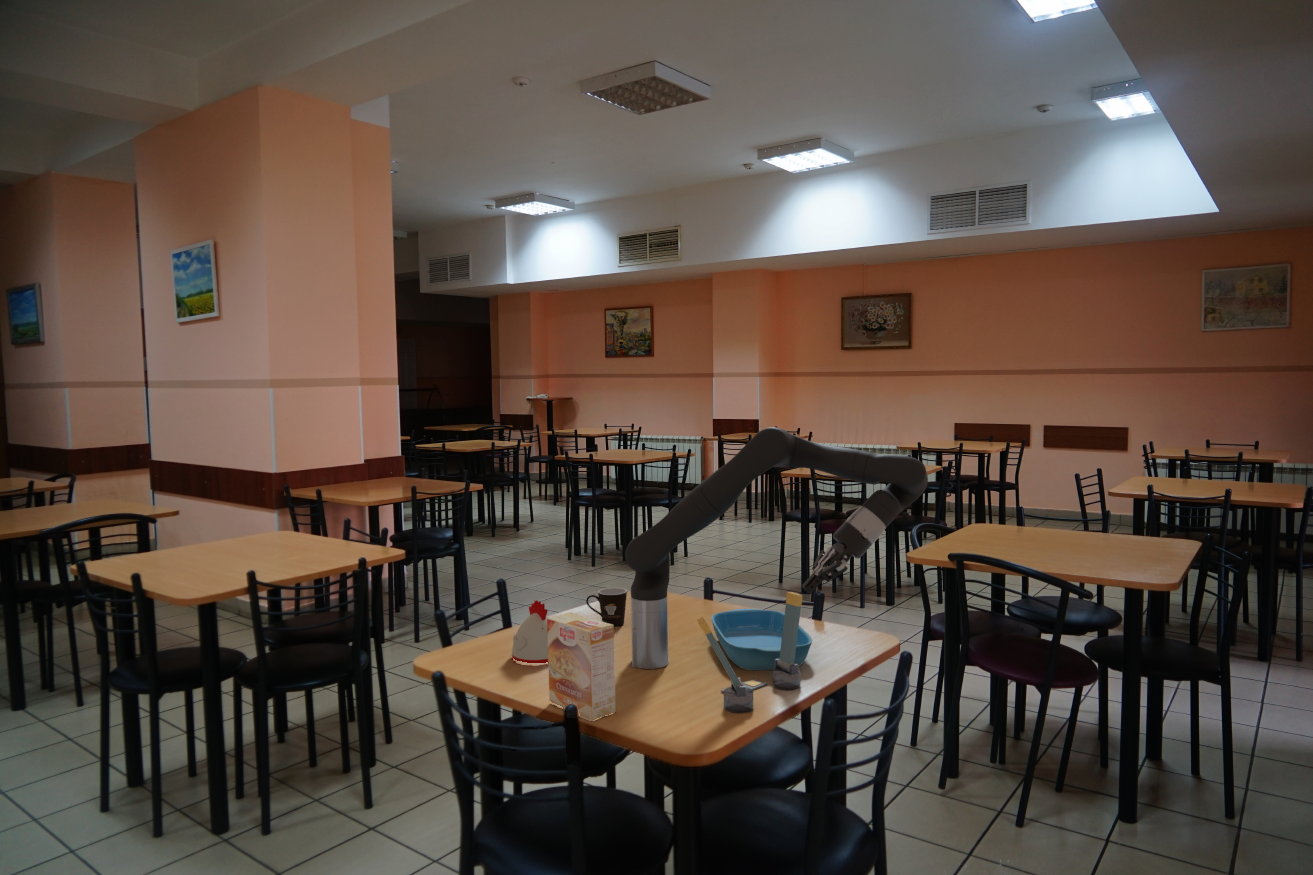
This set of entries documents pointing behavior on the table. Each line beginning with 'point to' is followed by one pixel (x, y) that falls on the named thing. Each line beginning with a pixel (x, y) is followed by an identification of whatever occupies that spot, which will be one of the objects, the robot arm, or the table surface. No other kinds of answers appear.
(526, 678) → the table surface
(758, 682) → the chart card
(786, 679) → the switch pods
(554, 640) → the coffeecake box
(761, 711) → the table surface
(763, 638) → the casserole dish
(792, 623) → the far lever
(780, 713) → the table surface
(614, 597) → the coffee mug
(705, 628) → the near lever
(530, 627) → the kitchen timer
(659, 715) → the table surface
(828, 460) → the robot arm
